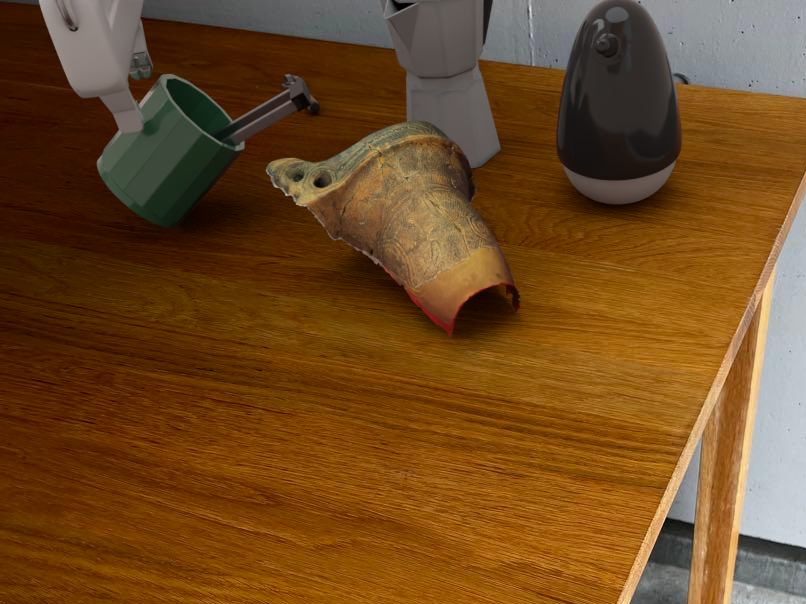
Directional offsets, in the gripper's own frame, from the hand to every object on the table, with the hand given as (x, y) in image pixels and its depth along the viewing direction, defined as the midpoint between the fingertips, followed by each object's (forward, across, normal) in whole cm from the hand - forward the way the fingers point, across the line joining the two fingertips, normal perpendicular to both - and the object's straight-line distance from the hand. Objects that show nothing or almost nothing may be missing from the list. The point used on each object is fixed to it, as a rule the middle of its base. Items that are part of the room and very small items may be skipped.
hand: (138, 101), depth 85 cm
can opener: (+10, +18, -11) cm, 23 cm away
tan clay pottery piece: (+10, -15, -19) cm, 27 cm away
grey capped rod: (+3, -2, -6) cm, 7 cm away
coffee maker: (+10, +4, -25) cm, 28 cm away
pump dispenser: (+11, -8, -37) cm, 40 cm away
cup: (+6, -2, +2) cm, 7 cm away
